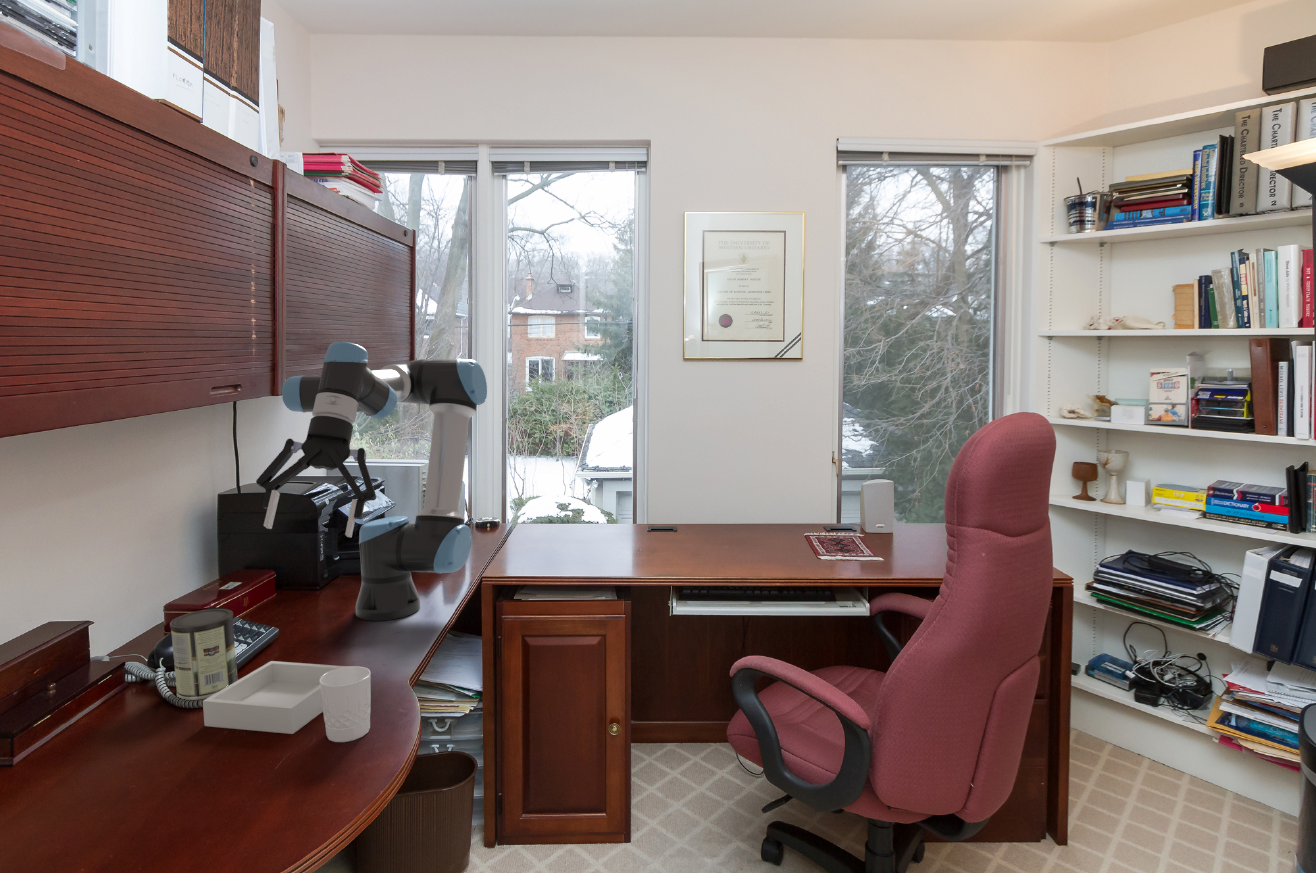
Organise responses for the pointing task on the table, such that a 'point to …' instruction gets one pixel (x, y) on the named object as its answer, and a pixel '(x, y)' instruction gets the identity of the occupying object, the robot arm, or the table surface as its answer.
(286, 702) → the tray
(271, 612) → the table surface
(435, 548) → the robot arm
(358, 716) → the white cup
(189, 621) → the coffee can
